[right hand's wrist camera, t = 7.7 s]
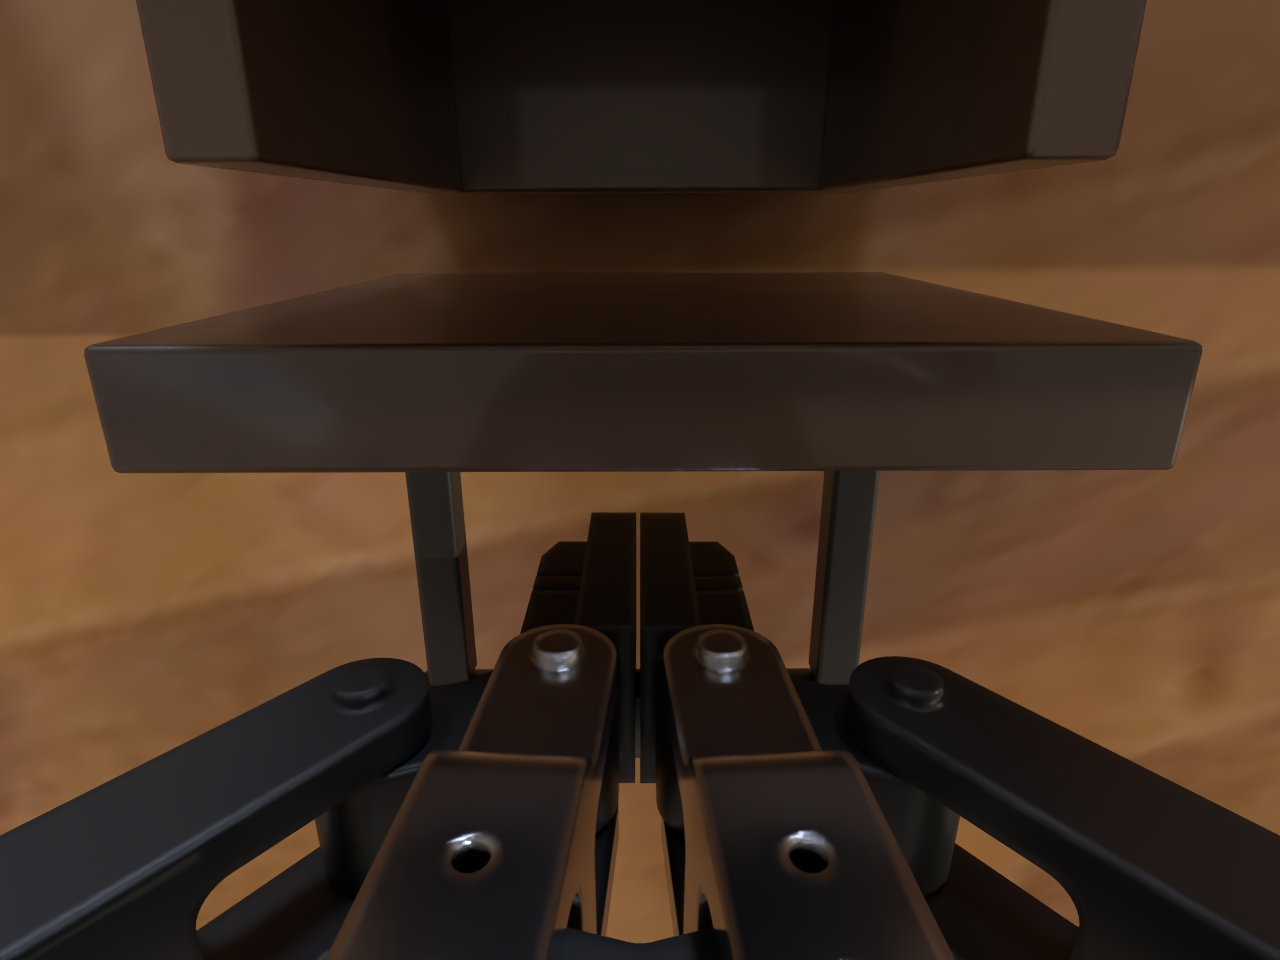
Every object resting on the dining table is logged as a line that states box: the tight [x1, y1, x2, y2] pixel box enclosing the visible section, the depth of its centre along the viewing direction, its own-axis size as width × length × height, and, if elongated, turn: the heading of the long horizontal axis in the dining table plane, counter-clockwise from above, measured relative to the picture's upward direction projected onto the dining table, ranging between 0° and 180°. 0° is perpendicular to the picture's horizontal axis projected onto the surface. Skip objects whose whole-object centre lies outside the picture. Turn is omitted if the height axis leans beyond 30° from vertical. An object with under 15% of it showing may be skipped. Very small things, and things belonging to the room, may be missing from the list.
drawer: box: [84, 0, 1202, 758], centre depth 10 cm, size 17×10×9 cm, turn 0°
